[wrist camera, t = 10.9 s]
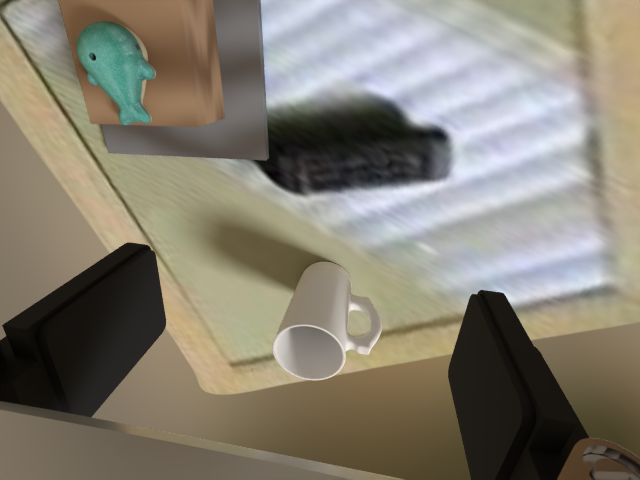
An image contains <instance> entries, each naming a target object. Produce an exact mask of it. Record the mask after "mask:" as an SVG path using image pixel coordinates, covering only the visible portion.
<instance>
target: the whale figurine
mask: <svg viewBox="0 0 640 480" xmlns="http://www.w3.org/2000/svg"><path fill="white" fill-rule="evenodd" d="M77 55H78V58H79V60H80V62H81V64H82V65H83V67H84V68H85V69H86V70H87V71H88V73H87V79H88V81H89V82H90V83H91V84H93V85H95V86H100V87H101V88H102V89H103V90H104V92H105V93H106V94H107V95H108V96H109V97H110V98H111V99H112V100H113V101H114V102H115V103H116V104H117V105H118V107H119V113H118V118H119V121H120V123H121V124H123V125H130V124H132V123H134V122H141V123H145V124H148V123H150V122H151V120H152V117H151V115H150V113H149V112H148V110H147V109H146V108H145V107H144V105H143V98H144V93H145V88H146V79H147V80H152V79H154V78H155V76H156V71H155V69H154V68H153V67H152V66H151V65H150V64H149V63H148V54H147V50H146V48H145V46H144V44H143V42H142V41H141V39H140V38H139V37H138V36H137V35H136V34H135V33H134V32H133V31H132V30H131V29H129V28H128V27H126V26H124V25H122V24H119V23H115V22H110V21H99V22H94V23H92V24H89V25H88V26H86V27H85V28H84V29H83V30H82V31H81V33H80V35H79V37H78V40H77Z"/></svg>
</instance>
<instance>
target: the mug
mask: <svg viewBox="0 0 640 480" xmlns="http://www.w3.org/2000/svg"><path fill="white" fill-rule="evenodd" d="M351 310H359V311H362V312H364V313H365V314H366V315H367V316H368V317H369V319H370V321H371V329H370V331H369V332H368V333H367V334H366V335H364V336H360V337H356V336H352V335H350V334H349V333H348V332H347V329H348V318H349V312H350V311H351ZM381 329H382V325H381V319H380V316H379V314H378V312H377V311H376V309H375V307H374V306H373V304H372V302H371V300H370V299H369V298H368V297H359V296H355V295H353V294H351V279H350V277H349V275H348V273H347V272H346V271H345V270H344V269H343V268H342V267H341V266H339V265H337V264H335V263H332V262H317V263H314V264H312V265H310V266H309V267H307V268H306V269H305V271H304V272H303V274H302V276H301V278H300V280H299V283H298V285H297V287H296V290H295V292H294V295H293V297H292V299H291V302H290V304H289V306H288V309H287V311H286V313H285V316H284V318H283V320H282V323H281V325H280V327H279V330H278V332H277V335H276V337H275V339H274V342H273V347H272V349H273V354H274V357H275V359H276V361H277V362H278V364H279V365H280V366H281V367H282V368H283V369H284V370H286V371H287V372H288V373H290V374H292V375H294V376H296V377H299V378H302V379H306V380H323V379H327V378H330V377H332V376H334V375H335V374H337V373H338V372H339V371H340V370H341V369H342V367H343V365H344V363H345V357H346V356H345V352H346V351H347V350H350V349H353V350H355V351H356V352H357V353H361V354H366V355H369V353H370V350H371V348H372V347H373V346H374V344H375V343H376V341H377V340H378V338H379V336H380V334H381Z"/></svg>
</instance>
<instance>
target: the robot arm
mask: <svg viewBox="0 0 640 480" xmlns="http://www.w3.org/2000/svg"><path fill="white" fill-rule="evenodd" d="M2 326H3V328H4V331H5V333H6V337H4V338H3V339H2V340H0V480H403V479H399V478H394V477H389V476H384V475H379V474H374V473H370V472H365V471H360V470H355V469H350V468H344V467H340V466H335V465H330V464H325V463H320V462H315V461H310V460H305V459H300V458H296V457H291V456H286V455H281V454H276V453H271V452H265V451H260V450H255V449H250V448H245V447H240V446H235V445H230V444H225V443H220V442H215V441H210V440H204V439H199V438H194V437H189V436H184V435H179V434H174V433H169V432H164V431H159V430H153V429H149V428H143V427H137V426H132V425H127V424H122V423H116V422H112V421H107V420H101V419H96V418H91V417H92V416H93V415H94V413H95V412H96V411H97V410H98V409H99V407H100V406H101V405H102V404H103V403H104V402H105V400H106V399H107V398H108V397H109V396H110V394H111V393H112V392H113V391H114V390H115V388H116V387H117V386H118V385H119V384H120V383H121V381H122V380H123V379H124V378H125V377H126V375H127V374H128V373H129V372H130V371H131V369H132V368H133V367H134V366H135V365H136V363H137V362H138V361H139V360H140V359H141V358H142V356H143V355H144V354H145V353H146V352H147V350H148V349H149V348H150V347H151V346H152V345H153V343H154V342H155V341H156V340H157V339H158V337H159V336H160V335H161V334H162V332H163V331H164V329H165V326H166V317H165V311H164V304H163V298H162V292H161V286H160V279H159V273H158V267H157V260H156V255H155V252H154V251H152V250H151V248H150V247H149V246H148V245H144V244H137V243H126V244H124V245H122V246H121V247H119V248H118V249H116V250H115V251H113V252H112V253H110V254H109V255H107V256H106V257H104V258H103V259H101V260H100V261H99V262H97V263H96V264H94V265H92V266H91V267H89V268H88V269H87V270H85V271H83V272H82V273H81V274H79V275H77V276H76V277H74V278H73V279H71V280H70V281H68V282H67V283H65V284H64V285H63V286H61V287H59V288H58V289H56V290H55V291H53V292H52V293H50V294H49V295H47V296H46V297H44V298H43V299H41V300H40V301H39V302H37V303H35V304H34V305H32V306H31V307H29V308H28V309H26V310H25V311H23V312H22V313H20V314H19V315H17V316H16V317H14V318H13V319H11V320H9V321H8V322H6V323H5V324H4V325H2ZM448 378H449V382H450V387H451V392H452V396H453V400H454V405H455V409H456V414H457V418H458V422H459V427H460V431H461V436H462V440H463V445H464V449H465V454H466V458H467V462H468V467H469V471H470V476H471V480H640V458H639V457H637V456H636V455H634V454H633V453H632V452H630V451H628V450H626V449H625V448H623V447H621V446H619V445H617V444H615V443H612V442H609V441H606V440H603V439H596V438H589V436H588V435H587V433H586V431H585V429H584V428H583V426H582V424H581V422H580V421H579V419H578V417H577V415H576V414H575V412H574V410H573V409H572V407H571V405H570V404H569V402H568V400H567V398H566V397H565V395H564V393H563V391H562V389H561V388H560V386H559V384H558V383H557V381H556V379H555V378H554V376H553V374H552V372H551V371H550V369H549V367H548V365H547V364H546V362H545V360H544V358H543V357H542V355H541V353H540V352H539V351H538V349H537V348H536V347H534V346H533V344H532V342H531V340H530V338H529V337H528V335H527V333H526V331H525V330H524V328H523V326H522V324H521V323H520V321H519V319H518V317H517V316H516V314H515V312H514V310H513V308H512V307H511V305H510V303H509V301H508V300H507V298H506V296H505V295H504V294H503V293H500V292H493V291H485V290H480V291H479V292H478V294H477V295H476V294H472V295H471V296H470V299H469V302H468V305H467V309H466V312H465V315H464V319H463V322H462V325H461V328H460V332H459V335H458V338H457V342H456V345H455V348H454V352H453V355H452V358H451V362H450V365H449V370H448Z"/></svg>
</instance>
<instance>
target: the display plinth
mask: <svg viewBox="0 0 640 480" xmlns="http://www.w3.org/2000/svg"><path fill="white" fill-rule="evenodd" d="M58 2H59V5H60V9H61V13H62V17H63V20H64V24H65V28H66V32H67V35H68V39H69V43H70V47H71V50H72V54H73V58H74V62H75V66H76V69H77V73H78V77H79V81H80V84H81V88H82V92H83V96H84V99H85V103H86V107H87V111H88V115H89V118H90V122H91V124H101V126H102V130H103V134H104V138H105V142H106V146H107V150H108V153H119V154H141V155H162V156H184V157H206V158H227V159H249V160H267V159H269V149H268V131H267V112H266V94H265V76H264V57H263V39H262V21H261V2H260V0H58ZM99 21H110V22H115V23H119V24H122V25H124V26H126V27H128V28H129V29H131V30H132V31H133V32H134V33H135V34H136V35H137V36H138V37H139V38H140V39H141V41H142V42H143V44H144V46H145V48H146V50H147V54H148V63H149V64H150V65H151V66H152V67H153V68H154V69H155V71H156V76H155V78H154V79H152V80H147V79H146V88H145V93H144V98H143V105H144V107H145V108H146V109H147V110H148V112H149V113H150V115H151V117H152V120H151V122H150V123H148V124H145V123H141V122H134V123H132V124H130V125H123V124H121V123H120V121H119V118H118V113H119V107H118V105H117V104H116V103H115V102H114V101H113V100H112V99H111V98H110V97H109V96H108V95H107V94H106V93H105V92H104V90H103V89H102V88H101V87H100V86H95V85H93V84H91V83H90V82H89V81H88V79H87V73H88V71H87V70H86V69H85V68H84V67H83V65H82V64H81V62H80V60H79V58H78V55H77V40H78V37H79V35H80V33H81V31H82V30H83V29H84V28H85V27H86V26H88V25H89V24H92V23H94V22H99Z"/></svg>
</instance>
